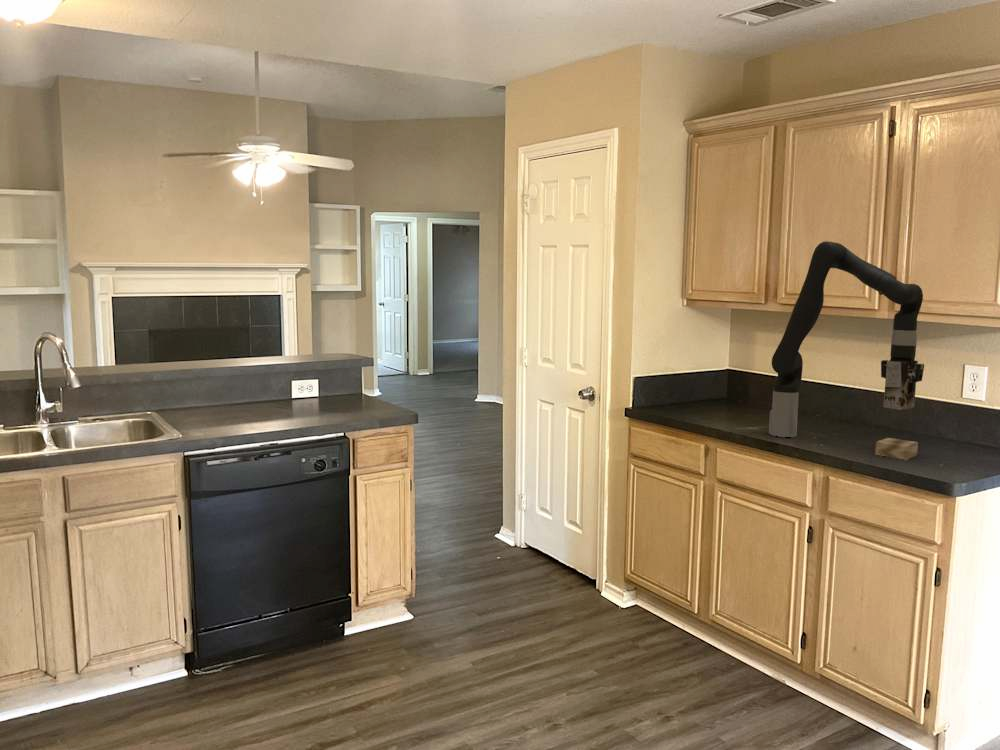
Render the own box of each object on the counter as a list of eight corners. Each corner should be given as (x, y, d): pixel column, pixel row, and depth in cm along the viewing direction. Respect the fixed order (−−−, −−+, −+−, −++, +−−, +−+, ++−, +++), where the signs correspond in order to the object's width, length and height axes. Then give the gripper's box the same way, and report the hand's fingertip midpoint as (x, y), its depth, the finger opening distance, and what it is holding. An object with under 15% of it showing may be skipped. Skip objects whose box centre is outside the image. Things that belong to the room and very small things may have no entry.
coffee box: (901, 410, 261) (905, 362, 259) (882, 407, 266) (885, 360, 264) (915, 407, 266) (918, 360, 264) (896, 404, 271) (899, 358, 269)
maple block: (875, 456, 268) (876, 441, 268) (886, 451, 275) (887, 437, 275) (906, 461, 261) (907, 446, 261) (917, 456, 268) (918, 442, 267)
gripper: (877, 342, 267) (873, 390, 270) (918, 345, 255) (914, 396, 257) (889, 341, 271) (886, 388, 274) (931, 344, 259) (927, 394, 261)
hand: (900, 392), depth 265 cm, fingers closed on coffee box, 6 cm apart
